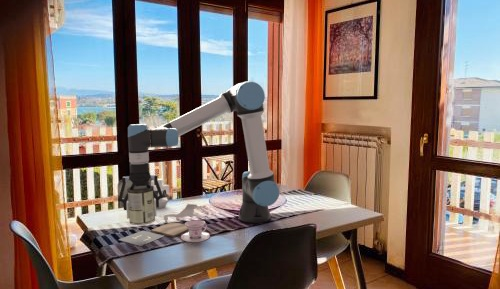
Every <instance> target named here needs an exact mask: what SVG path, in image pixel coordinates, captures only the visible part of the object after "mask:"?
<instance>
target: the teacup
mask: <svg viewBox="0 0 500 289" xmlns="http://www.w3.org/2000/svg"><path fill="white" fill-rule="evenodd" d="M184 224H185V225H186V226H187V227H188V230H189V231H187V232H184V233H182V234H181V236H180V239H181V240H182V241H184V242H187V243H188V242H189V243H199V242H205V241H207V240H209V238H210V237H211V234H210V233H209V232H207V231H206V230H207V227H208V223H206V221H205V220H200V219H195V220H194V219H193V220H189V221H186V222H184ZM204 226H205V228H204V229H203V227H204Z"/></svg>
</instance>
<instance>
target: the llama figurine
mask: <svg viewBox="0 0 500 289" xmlns="http://www.w3.org/2000/svg"><path fill="white" fill-rule="evenodd" d="M195 209H199V210H201V211H202V212H203V213H205V214H206V215H209V214H210V213H209V211H207V210H205V209H204V208H202V206H200V205H198V204H197V203H190V202H188V203H186V205H185V207H184V208H182V210H181V211H179V212H177V213H176V212H171V213H165V214H164V215H163V219H164V222H165V223H168V220H169V217H173V218H186V217H190V218H192V217H197V218H201V219H204V220H207V219H208V218H207V216H203V215H200V214H197V213H194V212H195V211H194V210H195Z"/></svg>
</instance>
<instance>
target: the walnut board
mask: <svg viewBox="0 0 500 289" xmlns="http://www.w3.org/2000/svg"><path fill="white" fill-rule="evenodd" d="M150 232H151V233H155V234H159V235H163V236H167V237H171V238H175V237H177V236H180V235H183V234H185V233H187V232H189V230H188V227H187V226H186V225H185V223H181V222H174V221H170V222H167V223H166V224H163V225H161V226H158V227H155V228H153V229H151V230H150Z"/></svg>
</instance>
